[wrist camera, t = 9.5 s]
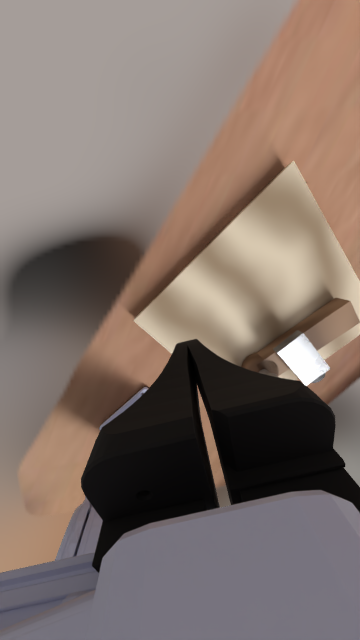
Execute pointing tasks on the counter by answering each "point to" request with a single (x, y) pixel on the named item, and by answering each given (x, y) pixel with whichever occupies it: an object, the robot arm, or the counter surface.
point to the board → (258, 278)
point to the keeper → (302, 358)
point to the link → (315, 327)
